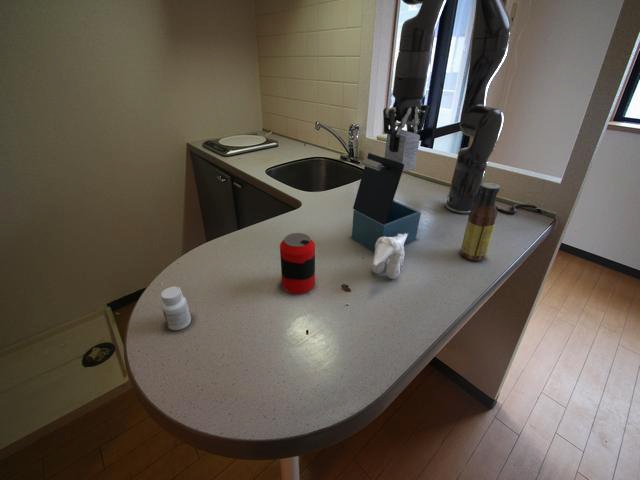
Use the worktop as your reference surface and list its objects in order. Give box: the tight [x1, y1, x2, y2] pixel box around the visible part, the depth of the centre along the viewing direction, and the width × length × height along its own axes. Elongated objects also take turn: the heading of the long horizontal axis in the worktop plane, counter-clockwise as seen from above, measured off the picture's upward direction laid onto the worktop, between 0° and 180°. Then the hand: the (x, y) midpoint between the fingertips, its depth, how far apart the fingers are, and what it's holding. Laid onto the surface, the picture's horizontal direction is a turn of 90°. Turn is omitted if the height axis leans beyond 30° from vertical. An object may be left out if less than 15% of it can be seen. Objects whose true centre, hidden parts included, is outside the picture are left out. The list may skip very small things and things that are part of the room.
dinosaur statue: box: [371, 233, 408, 280], centre depth 77 cm, size 7×24×11 cm, turn 148°
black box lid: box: [352, 152, 405, 225], centre depth 79 cm, size 15×12×5 cm
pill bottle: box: [160, 286, 192, 331], centre depth 60 cm, size 4×4×8 cm
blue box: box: [351, 199, 422, 253], centre depth 90 cm, size 15×12×9 cm
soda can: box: [279, 232, 316, 295], centre depth 70 cm, size 8×8×12 cm
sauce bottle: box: [460, 182, 501, 262], centre depth 80 cm, size 7×6×20 cm
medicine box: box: [383, 128, 421, 172], centre depth 80 cm, size 8×4×9 cm, turn 24°
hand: (401, 149), depth 80 cm, fingers closed on medicine box, 5 cm apart
